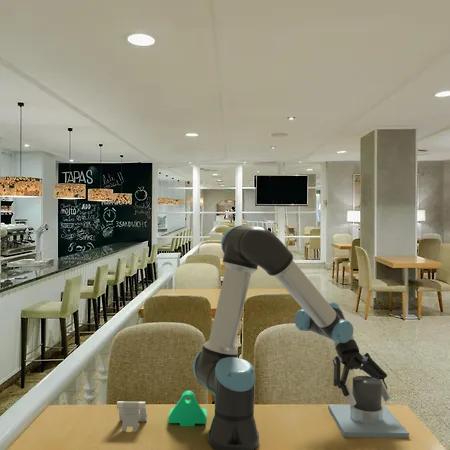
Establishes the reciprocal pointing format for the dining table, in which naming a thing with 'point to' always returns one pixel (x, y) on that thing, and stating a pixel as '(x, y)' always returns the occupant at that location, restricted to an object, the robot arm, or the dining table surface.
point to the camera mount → (187, 411)
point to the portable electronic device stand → (131, 413)
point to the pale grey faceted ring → (366, 416)
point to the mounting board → (354, 429)
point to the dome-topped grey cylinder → (367, 393)
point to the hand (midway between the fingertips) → (371, 402)
